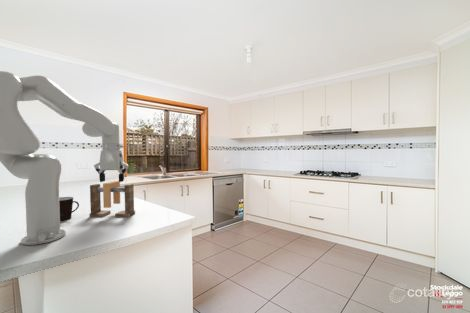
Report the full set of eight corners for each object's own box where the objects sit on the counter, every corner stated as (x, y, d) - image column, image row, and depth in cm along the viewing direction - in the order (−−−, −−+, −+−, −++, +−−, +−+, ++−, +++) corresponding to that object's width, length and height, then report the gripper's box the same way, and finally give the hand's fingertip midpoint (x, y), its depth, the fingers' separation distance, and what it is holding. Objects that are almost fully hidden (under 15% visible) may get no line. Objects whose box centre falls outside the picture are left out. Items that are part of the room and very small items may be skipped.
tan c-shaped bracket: (120, 203, 116) (119, 180, 116) (109, 207, 107) (108, 183, 107) (114, 203, 116) (114, 180, 116) (103, 207, 107) (102, 183, 107)
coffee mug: (47, 220, 104) (46, 199, 103) (68, 215, 111) (67, 196, 111) (60, 224, 98) (59, 202, 98) (81, 219, 106) (80, 198, 105)
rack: (135, 213, 114) (134, 183, 114) (129, 217, 108) (128, 185, 108) (97, 213, 115) (96, 183, 115) (89, 216, 109) (88, 185, 109)
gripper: (131, 147, 114) (132, 180, 115) (99, 147, 115) (100, 180, 115) (123, 147, 107) (124, 182, 107) (89, 147, 107) (90, 182, 108)
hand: (111, 181), depth 111 cm, fingers open, 9 cm apart
